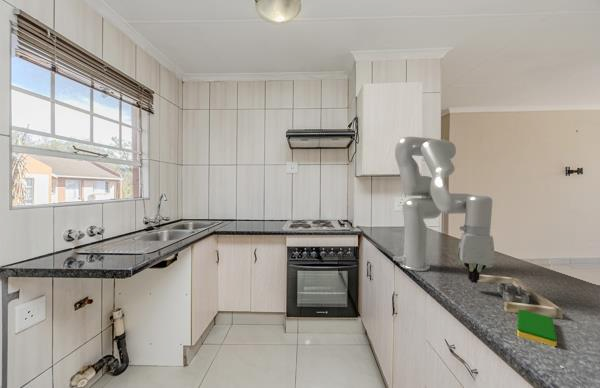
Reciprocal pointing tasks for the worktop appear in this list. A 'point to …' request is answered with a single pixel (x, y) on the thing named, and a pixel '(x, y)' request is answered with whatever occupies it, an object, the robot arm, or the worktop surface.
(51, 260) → the worktop surface
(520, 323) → the dish sponge
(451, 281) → the worktop surface
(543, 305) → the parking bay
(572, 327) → the worktop surface
